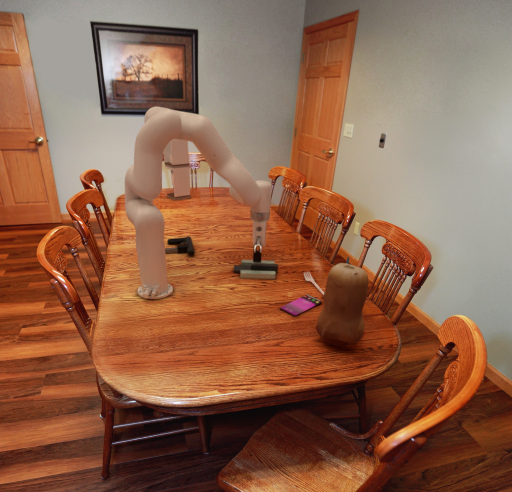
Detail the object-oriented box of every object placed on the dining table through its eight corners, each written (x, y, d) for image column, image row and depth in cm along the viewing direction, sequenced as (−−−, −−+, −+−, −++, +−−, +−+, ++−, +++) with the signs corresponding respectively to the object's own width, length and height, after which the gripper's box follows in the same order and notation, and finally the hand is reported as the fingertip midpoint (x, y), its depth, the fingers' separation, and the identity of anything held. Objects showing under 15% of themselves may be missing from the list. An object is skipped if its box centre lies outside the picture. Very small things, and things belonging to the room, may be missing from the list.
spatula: (277, 268, 168) (277, 262, 166) (277, 274, 163) (278, 267, 161) (234, 267, 167) (234, 260, 166) (233, 272, 163) (233, 266, 161)
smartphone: (322, 303, 143) (322, 301, 143) (294, 316, 134) (295, 314, 134) (306, 296, 148) (307, 294, 147) (279, 308, 139) (279, 306, 138)
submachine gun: (159, 253, 172) (196, 249, 175) (159, 238, 188) (193, 234, 191) (160, 260, 174) (197, 256, 176) (160, 244, 190) (193, 241, 193)
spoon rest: (275, 279, 160) (275, 274, 158) (240, 278, 159) (240, 272, 158) (274, 265, 171) (274, 260, 170) (241, 264, 171) (241, 259, 170)
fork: (321, 298, 147) (322, 293, 146) (302, 276, 163) (302, 271, 162) (329, 297, 148) (330, 292, 147) (309, 275, 164) (310, 271, 163)
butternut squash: (354, 332, 128) (369, 258, 114) (365, 356, 117) (383, 277, 103) (311, 331, 127) (321, 257, 114) (318, 355, 116) (330, 276, 102)
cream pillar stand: (182, 194, 269) (178, 137, 250) (190, 198, 262) (187, 139, 243) (167, 196, 263) (162, 137, 244) (175, 200, 256) (171, 139, 237)
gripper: (270, 222, 145) (266, 266, 154) (269, 210, 160) (265, 251, 169) (249, 221, 145) (247, 265, 154) (250, 208, 160) (248, 249, 169)
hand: (257, 257), depth 162 cm, fingers open, 9 cm apart
